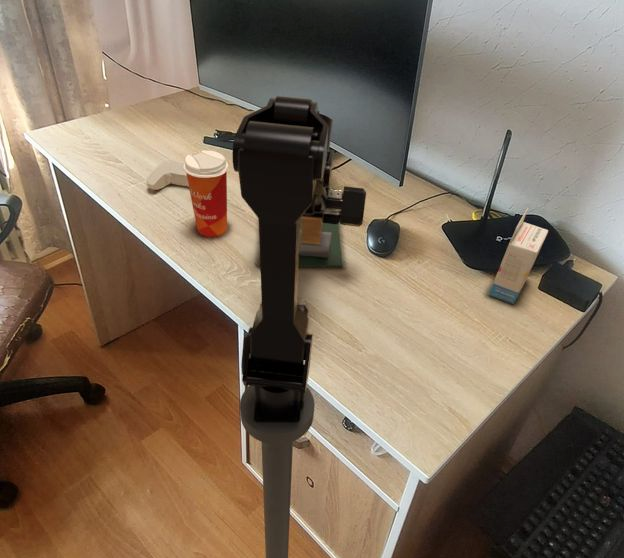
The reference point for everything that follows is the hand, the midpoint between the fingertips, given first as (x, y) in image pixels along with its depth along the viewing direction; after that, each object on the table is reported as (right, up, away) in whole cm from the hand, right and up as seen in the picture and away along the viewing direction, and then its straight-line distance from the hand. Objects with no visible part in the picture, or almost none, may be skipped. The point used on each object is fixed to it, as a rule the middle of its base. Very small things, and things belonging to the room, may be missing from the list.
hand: (313, 213), depth 98 cm
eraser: (0, -6, +4) cm, 7 cm away
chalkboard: (-3, -1, +10) cm, 10 cm away
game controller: (-29, +11, +19) cm, 36 cm away
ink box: (+37, -14, 0) cm, 39 cm away
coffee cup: (-21, -1, +9) cm, 22 cm away
